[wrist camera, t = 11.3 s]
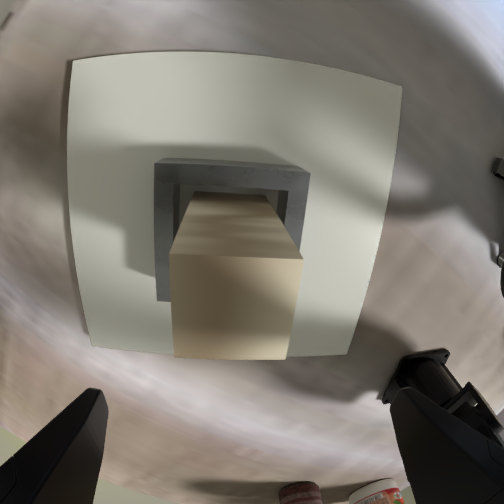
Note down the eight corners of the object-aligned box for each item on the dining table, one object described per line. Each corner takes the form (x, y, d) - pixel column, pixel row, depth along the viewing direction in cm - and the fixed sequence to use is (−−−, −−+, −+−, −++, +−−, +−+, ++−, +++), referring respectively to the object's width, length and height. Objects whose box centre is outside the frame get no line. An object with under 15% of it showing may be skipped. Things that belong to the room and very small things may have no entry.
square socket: (298, 166, 17) (310, 173, 15) (282, 285, 20) (290, 306, 18) (163, 157, 16) (154, 163, 14) (163, 280, 19) (157, 301, 17)
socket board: (394, 87, 16) (402, 86, 15) (342, 346, 24) (346, 354, 23) (79, 63, 14) (73, 60, 13) (95, 338, 22) (91, 346, 21)
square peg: (265, 194, 18) (303, 259, 9) (258, 259, 19) (285, 359, 11) (194, 190, 17) (169, 253, 9) (192, 256, 19) (174, 357, 10)
